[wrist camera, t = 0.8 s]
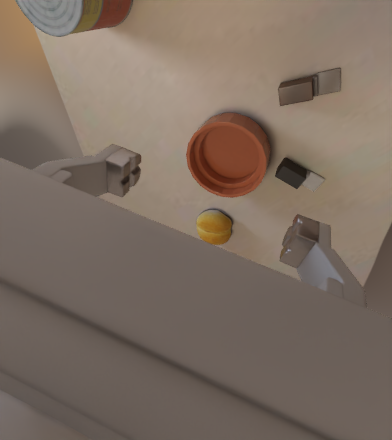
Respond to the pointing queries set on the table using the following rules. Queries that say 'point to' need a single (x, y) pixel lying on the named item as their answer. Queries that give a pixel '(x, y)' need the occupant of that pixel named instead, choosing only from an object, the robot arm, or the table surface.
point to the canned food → (74, 14)
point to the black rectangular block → (298, 175)
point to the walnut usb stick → (309, 87)
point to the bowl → (228, 155)
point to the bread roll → (214, 227)
